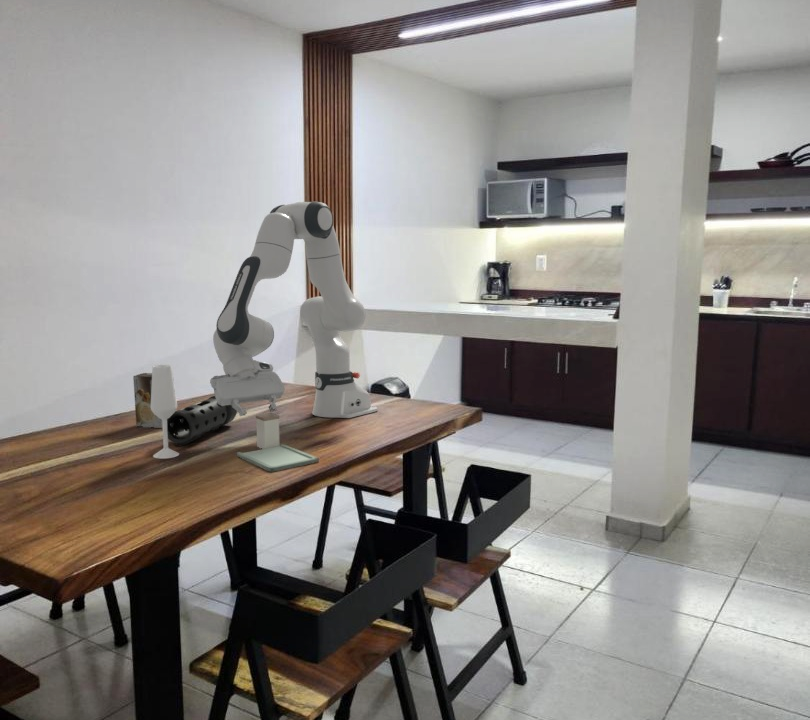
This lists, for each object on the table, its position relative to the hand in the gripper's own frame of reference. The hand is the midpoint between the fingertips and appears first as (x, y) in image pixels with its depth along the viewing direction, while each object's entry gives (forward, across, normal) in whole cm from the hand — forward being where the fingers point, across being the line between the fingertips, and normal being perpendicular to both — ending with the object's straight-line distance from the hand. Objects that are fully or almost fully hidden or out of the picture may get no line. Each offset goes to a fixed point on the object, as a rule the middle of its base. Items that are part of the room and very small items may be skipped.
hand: (259, 412), depth 203 cm
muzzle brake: (-7, -8, +21) cm, 23 cm away
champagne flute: (+3, -25, +11) cm, 27 cm away
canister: (+10, 0, +4) cm, 10 cm away
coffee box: (-22, -15, +36) cm, 44 cm away
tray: (+18, -4, -5) cm, 19 cm away
